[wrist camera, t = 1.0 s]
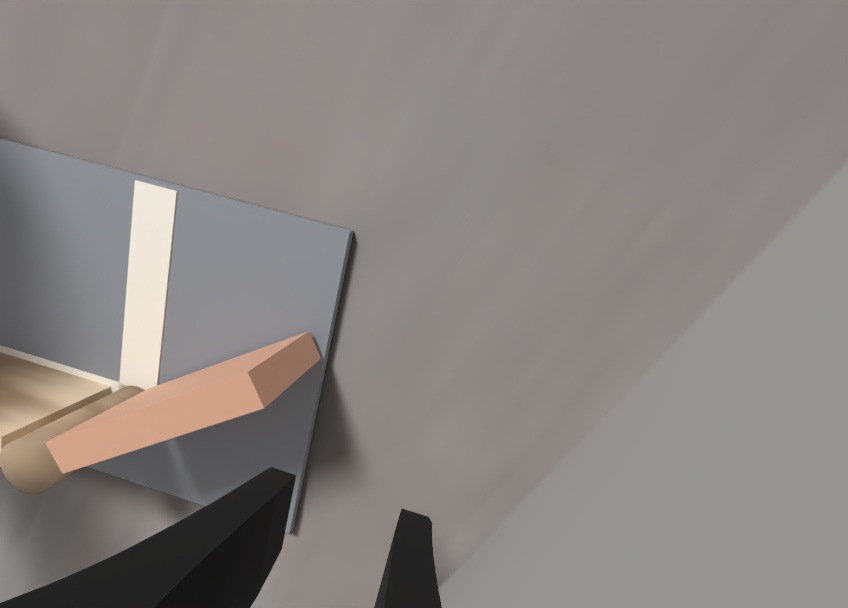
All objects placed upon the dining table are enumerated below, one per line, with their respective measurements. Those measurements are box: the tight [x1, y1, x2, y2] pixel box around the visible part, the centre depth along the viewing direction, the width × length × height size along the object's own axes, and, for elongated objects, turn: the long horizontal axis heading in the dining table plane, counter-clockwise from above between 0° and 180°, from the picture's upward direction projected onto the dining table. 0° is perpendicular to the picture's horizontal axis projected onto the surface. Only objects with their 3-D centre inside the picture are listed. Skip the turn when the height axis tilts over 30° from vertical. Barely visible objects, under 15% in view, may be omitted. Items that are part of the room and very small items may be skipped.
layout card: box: [0, 138, 354, 534], centre depth 19 cm, size 16×14×1 cm
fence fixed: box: [0, 352, 145, 494], centre depth 17 cm, size 8×2×5 cm, turn 76°
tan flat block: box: [45, 331, 321, 474], centre depth 16 cm, size 8×1×4 cm, turn 111°
